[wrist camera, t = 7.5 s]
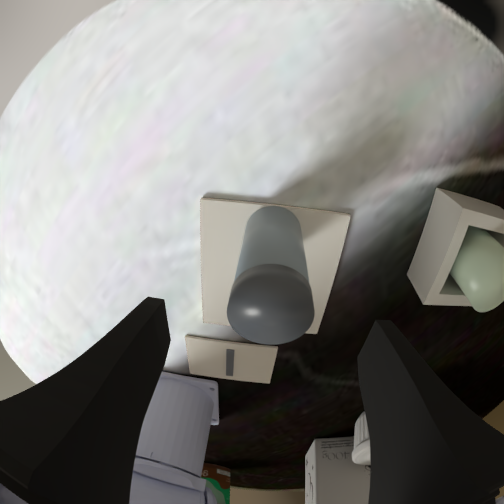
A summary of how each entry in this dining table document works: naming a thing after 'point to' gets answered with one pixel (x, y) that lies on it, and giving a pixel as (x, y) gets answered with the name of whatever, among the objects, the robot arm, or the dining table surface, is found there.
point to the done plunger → (480, 269)
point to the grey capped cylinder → (271, 280)
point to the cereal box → (335, 473)
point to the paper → (230, 241)
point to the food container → (217, 481)
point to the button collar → (449, 244)
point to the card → (230, 359)
